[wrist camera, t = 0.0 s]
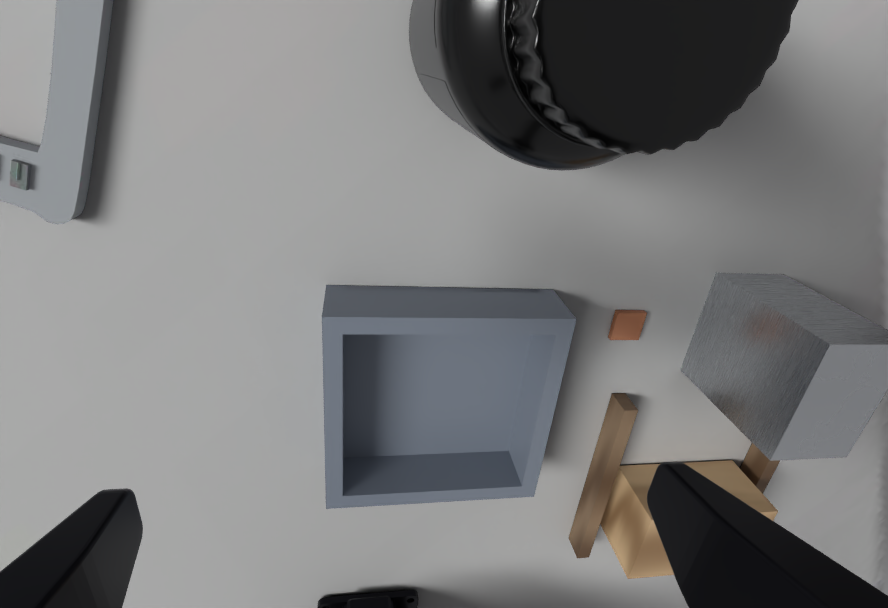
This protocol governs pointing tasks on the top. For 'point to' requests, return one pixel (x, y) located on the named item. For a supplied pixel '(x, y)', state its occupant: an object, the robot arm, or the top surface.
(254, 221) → the top surface
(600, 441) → the bar
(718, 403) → the block
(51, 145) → the office telephone
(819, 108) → the top surface
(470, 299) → the tray
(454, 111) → the supplement bottle
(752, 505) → the block
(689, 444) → the top surface
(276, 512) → the top surface
